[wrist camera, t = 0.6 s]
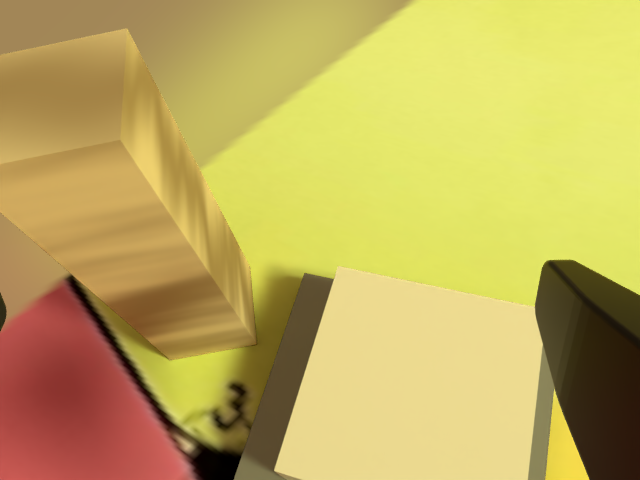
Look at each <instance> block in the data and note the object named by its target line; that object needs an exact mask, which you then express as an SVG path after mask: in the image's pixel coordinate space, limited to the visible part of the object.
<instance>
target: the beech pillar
mask: <svg viewBox="0 0 640 480" xmlns="http://www.w3.org/2000/svg"><path fill="white" fill-rule="evenodd" d="M0 212H1V214H3V215H4V216H5V217H6V218H7V219H9V220H10V221H11V222H12V223H13V224H14V225H15V226H16V227H18V228H19V229H20V230H21V231H22V232H23V233H25V234H26V235H27V236H28V237H29V238H30V239H31V240H33V241H34V242H35V243H36V244H37V245H38V246H40V247H41V248H42V249H43V250H44V251H45V252H46V253H48V254H49V255H50V256H51V257H52V258H53V259H54V260H56V261H57V262H58V263H59V264H60V265H62V266H63V267H64V268H65V269H66V270H67V271H68V272H69V273H71V274H72V275H73V276H74V277H75V278H76V279H77V280H79V281H80V282H81V283H82V284H83V285H84V286H86V287H87V288H88V289H89V290H90V291H91V292H92V293H94V294H95V295H96V296H97V297H98V298H99V299H101V300H102V301H103V302H104V303H105V304H106V305H107V306H109V307H110V308H111V309H112V310H113V311H114V312H115V313H117V314H118V315H119V316H120V317H121V318H122V319H124V320H125V321H126V322H127V323H128V324H129V325H130V326H132V327H133V328H134V329H135V330H136V331H137V332H139V333H140V334H141V335H142V336H143V337H144V338H145V339H147V340H148V341H149V342H150V343H151V344H152V345H153V346H155V347H156V348H157V349H158V350H159V351H160V352H162V353H163V354H164V355H165V356H166V357H167V358H168V359H170V360H175V359H180V358H186V357H191V356H197V355H202V354H207V353H213V352H218V351H224V350H229V349H235V348H240V347H245V346H251V345H256V344H257V340H256V329H255V317H254V306H253V294H252V283H251V271H250V266H249V264H248V262H247V260H246V258H245V256H244V254H243V252H242V250H241V248H240V246H239V245H238V243H237V241H236V239H235V237H234V235H233V233H232V231H231V229H230V227H229V225H228V223H227V221H226V219H225V217H224V215H223V214H222V212H221V210H220V208H219V206H218V204H217V202H216V200H215V198H214V196H213V194H212V192H211V190H210V188H209V186H208V184H207V182H206V181H205V179H204V177H203V175H202V173H201V171H200V169H199V167H198V165H197V164H196V161H195V159H194V157H193V155H192V153H191V151H190V150H189V148H188V146H187V144H186V142H185V140H184V138H183V136H182V134H181V132H180V130H179V128H178V126H177V124H176V122H175V120H174V118H173V117H172V115H171V113H170V111H169V109H168V107H167V105H166V103H165V101H164V99H163V97H162V96H161V93H160V92H159V89H158V87H157V86H156V84H155V82H154V80H153V78H152V76H151V74H150V72H149V70H148V68H147V67H146V64H145V62H144V61H143V58H142V57H141V55H140V53H139V51H138V49H137V47H136V45H135V43H134V41H133V39H132V37H131V35H130V33H129V31H128V29H122V30H117V31H112V32H107V33H103V34H98V35H93V36H88V37H84V38H78V39H74V40H69V41H64V42H59V43H54V44H50V45H45V46H40V47H35V48H31V49H26V50H21V51H16V52H11V53H6V54H2V55H0Z"/></svg>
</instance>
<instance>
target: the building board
mask: <svg viewBox="0 0 640 480" xmlns="http://www.w3.org/2000/svg"><path fill="white" fill-rule="evenodd" d="M553 393H554V384H553V381H552V377H551V373H550V369H549V366H548V362H547V358H546V354H545V351H544V347H543V343H542V339H541V336H540V332H539V328H538V324H537V321H536V316H535V307H532V306H528V305H523V304H518V303H513V302H508V301H504V300H499V299H494V298H489V297H484V296H480V295H475V294H470V293H465V292H460V291H456V290H451V289H446V288H441V287H436V286H432V285H427V284H422V283H417V282H412V281H408V280H403V279H398V278H393V277H388V276H383V275H379V274H374V273H369V272H364V271H359V270H355V269H350V268H345V267H340V266H338V268H337V271H336V274H335V278H334V279H330V278H325V277H321V276H316V275H311V274H307V273H304V276H303V279H302V282H301V285H300V288H299V291H298V294H297V297H296V299H295V302H294V305H293V308H292V311H291V314H290V317H289V320H288V323H287V326H286V329H285V332H284V334H283V337H282V340H281V343H280V346H279V349H278V352H277V355H276V358H275V361H274V364H273V367H272V369H271V372H270V375H269V378H268V381H267V384H266V387H265V390H264V393H263V396H262V399H261V402H260V404H259V407H258V410H257V413H256V416H255V419H254V422H253V425H252V428H251V431H250V434H249V437H248V439H247V442H246V445H245V448H244V451H243V454H242V457H241V460H240V463H239V466H238V469H237V472H236V474H235V477H234V480H545V476H546V465H547V455H548V445H549V434H550V424H551V414H552V403H553Z"/></svg>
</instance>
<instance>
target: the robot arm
mask: <svg viewBox="0 0 640 480" xmlns="http://www.w3.org/2000/svg"><path fill="white" fill-rule="evenodd" d="M535 316H536V321H537V324H538V328H539V332H540V336H541V339H542V343H543V347H544V351H545V354H546V358H547V362H548V366H549V369H550V373H551V377H552V381H553V384H554V388H555V391H556V395H557V398H558V401H559V404H560V407H561V409H562V412H563V415H564V417H565V420H566V422H567V425H568V427H569V430H570V432H571V435H572V437H573V440H574V442H575V445H576V447H577V450H578V452H579V455H580V457H581V459H582V462H583V464H584V467H585V469H586V472H587V474H588V477H589V479H590V480H640V295H638V294H636V293H635V292H633V291H631V290H629V289H627V288H625V287H623V286H621V285H619V284H618V283H616V282H614V281H612V280H610V279H608V278H606V277H604V276H602V275H600V274H599V273H597V272H595V271H593V270H591V269H589V268H587V267H585V266H583V265H582V264H580V263H578V262H576V261H574V260H548V261H546V262H545V263H544V265H543V267H542V271H541V276H540V281H539V286H538V292H537V297H536V302H535ZM5 319H6V306H5V303H4V301H3V298H2V296H1V293H0V331H1V329H2V327H3V324H4V322H5Z"/></svg>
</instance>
